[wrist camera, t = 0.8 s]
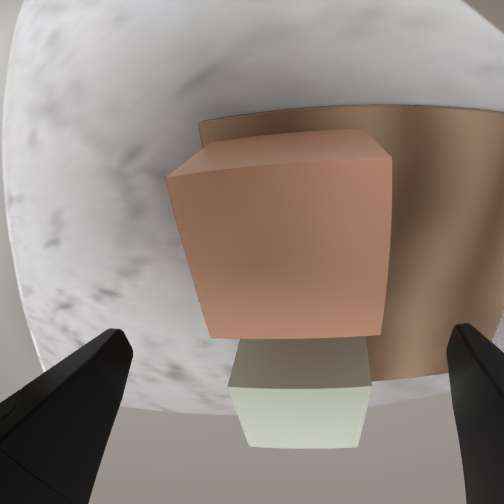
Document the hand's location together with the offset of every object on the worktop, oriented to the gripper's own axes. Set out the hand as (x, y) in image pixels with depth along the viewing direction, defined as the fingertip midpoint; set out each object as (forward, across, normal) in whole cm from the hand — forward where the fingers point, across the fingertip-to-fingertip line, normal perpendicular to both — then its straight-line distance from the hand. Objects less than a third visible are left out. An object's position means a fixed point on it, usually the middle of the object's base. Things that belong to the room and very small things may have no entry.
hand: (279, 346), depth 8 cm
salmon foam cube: (+9, 0, 0) cm, 9 cm away
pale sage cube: (+9, 0, +10) cm, 14 cm away
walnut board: (+10, -5, +5) cm, 12 cm away
